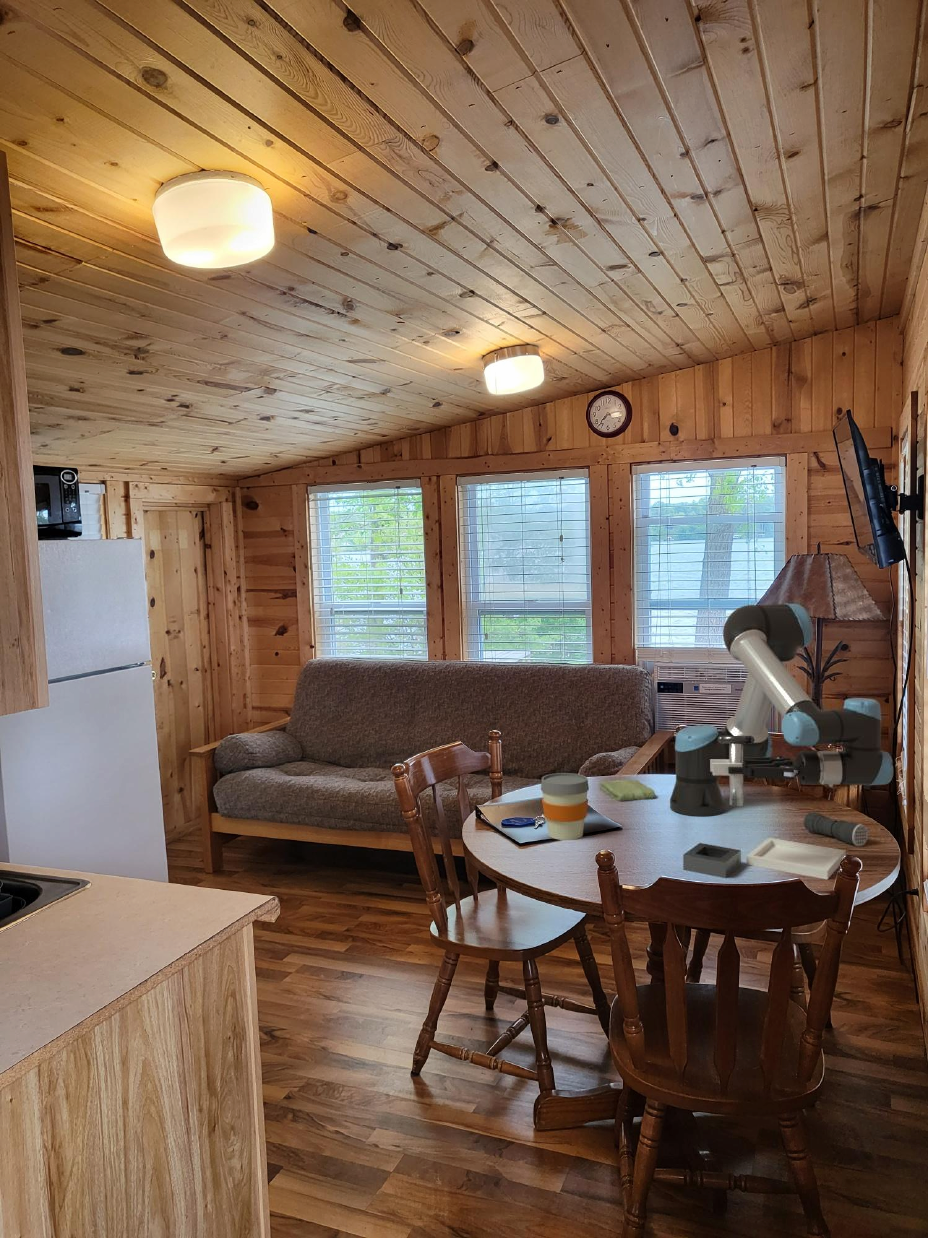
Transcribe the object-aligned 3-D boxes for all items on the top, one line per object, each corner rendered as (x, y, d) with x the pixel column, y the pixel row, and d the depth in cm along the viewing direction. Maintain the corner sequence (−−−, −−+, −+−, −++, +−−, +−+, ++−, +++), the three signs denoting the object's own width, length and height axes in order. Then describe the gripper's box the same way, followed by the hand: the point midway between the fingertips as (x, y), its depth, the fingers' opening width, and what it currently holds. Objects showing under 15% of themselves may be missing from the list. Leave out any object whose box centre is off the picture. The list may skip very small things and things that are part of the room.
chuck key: (719, 806, 201) (718, 737, 200) (717, 802, 204) (716, 734, 203) (756, 806, 200) (755, 737, 199) (753, 803, 203) (753, 734, 202)
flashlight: (801, 832, 227) (801, 812, 227) (815, 829, 230) (815, 809, 229) (853, 848, 214) (853, 826, 213) (867, 844, 216) (867, 823, 216)
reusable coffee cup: (556, 845, 222) (555, 787, 221) (533, 831, 233) (532, 776, 232) (598, 837, 227) (597, 780, 226) (574, 824, 238) (572, 770, 237)
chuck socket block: (683, 869, 202) (683, 854, 202) (699, 857, 210) (699, 843, 210) (725, 878, 196) (725, 862, 196) (741, 865, 204) (740, 850, 204)
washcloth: (636, 785, 279) (636, 775, 278) (657, 800, 261) (657, 790, 261) (597, 788, 276) (596, 778, 276) (616, 804, 259) (616, 793, 259)
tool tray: (746, 864, 204) (746, 856, 204) (768, 845, 217) (768, 837, 217) (827, 879, 193) (827, 870, 193) (845, 858, 206) (845, 850, 206)
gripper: (827, 793, 191) (716, 792, 195) (809, 775, 207) (707, 774, 210) (827, 759, 191) (716, 759, 194) (809, 744, 207) (706, 744, 210)
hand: (711, 767), depth 202 cm, fingers closed on chuck key, 3 cm apart
